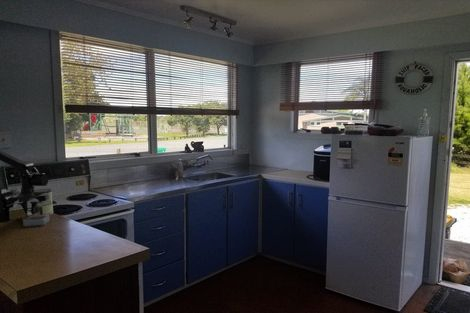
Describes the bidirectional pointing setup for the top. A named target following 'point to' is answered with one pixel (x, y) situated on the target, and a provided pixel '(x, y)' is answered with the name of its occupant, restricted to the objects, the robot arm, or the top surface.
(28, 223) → the pin tray
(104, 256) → the top surface
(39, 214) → the block
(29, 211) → the pin
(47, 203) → the coffee can
